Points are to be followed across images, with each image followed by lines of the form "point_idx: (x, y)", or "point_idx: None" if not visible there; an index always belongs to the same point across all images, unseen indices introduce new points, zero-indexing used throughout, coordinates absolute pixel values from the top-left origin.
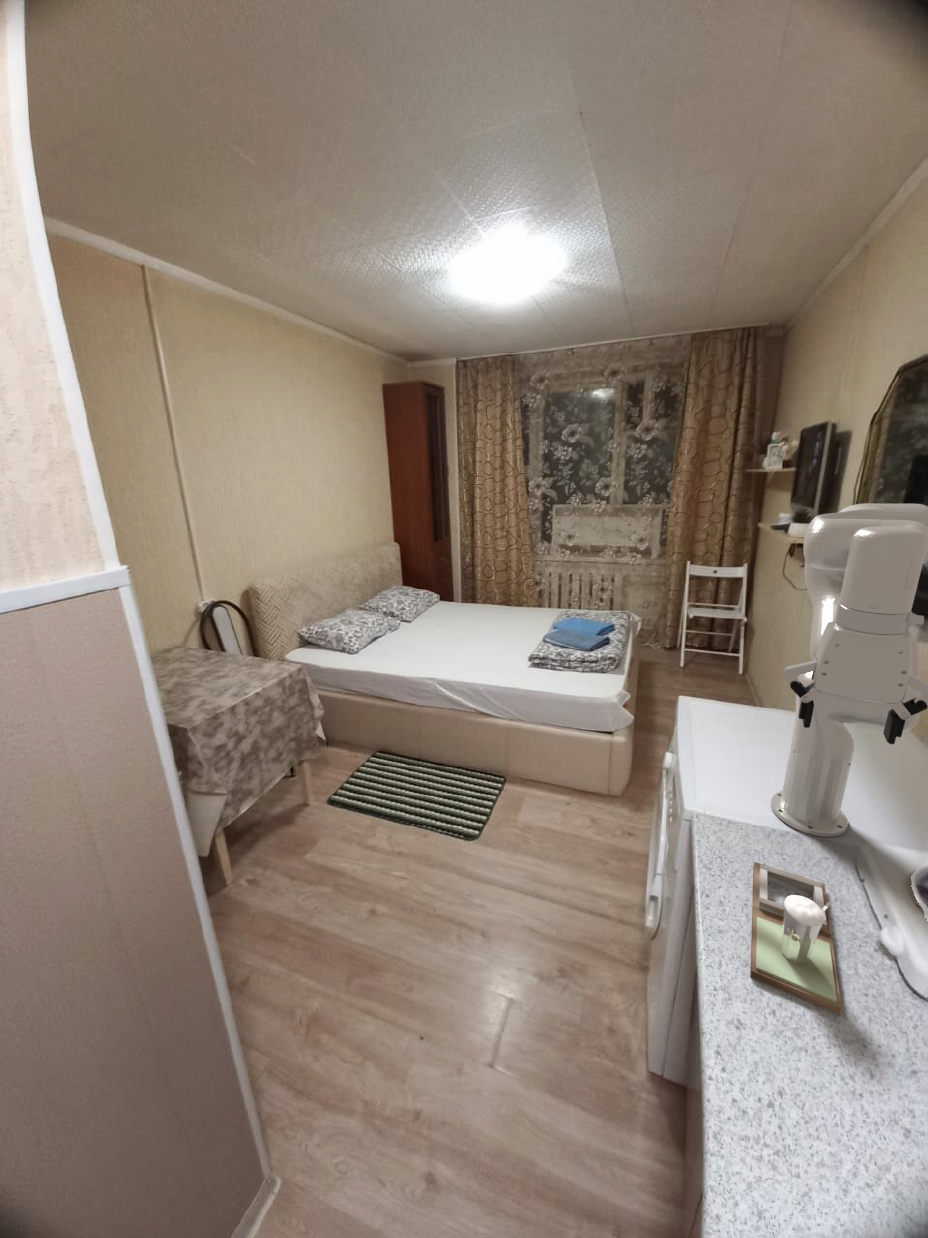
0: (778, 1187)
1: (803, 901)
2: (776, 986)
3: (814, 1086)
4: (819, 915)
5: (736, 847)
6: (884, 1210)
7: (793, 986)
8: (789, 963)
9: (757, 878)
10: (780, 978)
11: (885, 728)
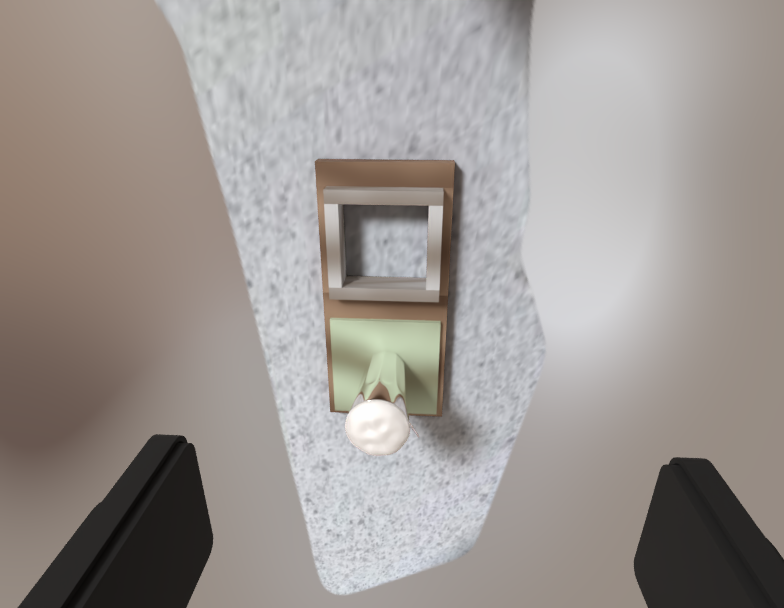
0: (368, 569)
1: (374, 429)
2: None
3: (403, 492)
4: (399, 444)
5: (276, 102)
6: (448, 553)
7: None
8: None
9: (324, 213)
10: None
11: (682, 525)
